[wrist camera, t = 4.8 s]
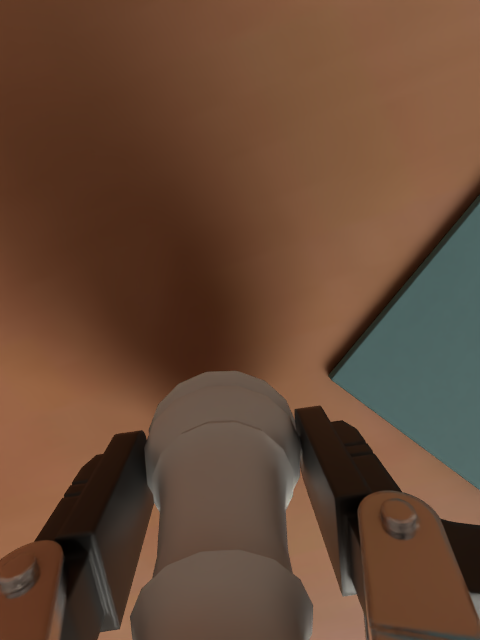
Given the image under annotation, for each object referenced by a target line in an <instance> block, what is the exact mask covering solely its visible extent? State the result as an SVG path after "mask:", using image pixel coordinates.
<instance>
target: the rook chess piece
mask: <svg viewBox="0 0 480 640" xmlns="http://www.w3.org/2000/svg"><path fill="white" fill-rule="evenodd" d="M300 451H301V442H300V439H299V436H298V434H297V432H296V425H295V420H294V417H293V415H292V413H291V410H290V408H289V406H288V404H287V401H286V399H284V398H283V397H282V396H281V395H280V394H279V393H278V392H277V391H276V390H274V389H273V388H272V387H271V386H270V385H269V384H268V383H267V382H266V381H264V380H261V379H258V378H256V377H253V376H250V375H247V374H244V373H241V372H239V371H217V372H205V373H202V374H200V375H198V376H195V377H193V378H191V379H188V380H186V381H184V382H181V383H179V384H178V385H177V386H176V387H175V388H174V389H173V390H172V391H171V392H170V393H169V394H168V395H167V396H166V397H165V398H164V399H163V400H162V401H161V402H160V403H159V404H158V406H157V409H156V412H155V414H154V417H153V420H152V423H151V425H150V428H149V436H148V439H147V442H146V444H145V447H144V452H145V464H146V475H147V485H148V486H149V488H150V490H151V492H152V493H153V498H154V503H155V505H156V507H157V508H158V510H159V512H160V519H159V534H158V550H157V559H156V564H155V569H154V573H153V578H152V579H151V580H150V581H149V582H148V583H147V584H146V585H145V586H144V587H143V588H142V589H141V591H140V594H139V596H138V598H137V601H136V603H135V606H134V608H133V611H132V613H131V616H130V621H131V630H132V639H133V640H309V639H310V637H311V634H312V621H313V604H312V602H311V600H310V598H309V596H308V594H307V592H306V590H305V588H304V586H303V584H302V582H301V580H300V579H299V578H298V577H296V576H295V575H294V574H293V572H292V568H291V563H290V558H289V553H288V545H287V528H286V508H287V506H288V504H289V502H290V500H291V498H292V496H293V490H294V487H295V485H296V483H297V481H298V479H299V476H300Z"/></svg>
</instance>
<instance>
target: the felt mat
mask: <svg viewBox="0 0 480 640" xmlns="http://www.w3.org/2000/svg"><path fill="white" fill-rule="evenodd" d="M329 378H330V379H331V380H332V381H334V382H335V383H336V384H338V385H339V386H340V387H342V388H343V389H344V390H346V391H347V392H348V393H350V394H351V395H352V396H354V397H355V398H357V399H358V400H359V401H361V402H362V403H363V404H365V405H366V406H367V407H369V408H370V409H371V410H373V411H374V412H375V413H377V414H378V415H379V416H381V417H382V418H383V419H385V420H386V421H387V422H389V423H390V424H391V425H393V426H394V427H396V428H397V429H398V430H400V431H401V432H402V433H404V434H405V435H406V436H408V437H409V438H410V439H412V440H413V441H414V442H416V443H417V444H418V445H420V446H421V447H422V448H424V449H425V450H426V451H428V452H429V453H431V454H432V455H433V456H435V457H436V458H437V459H439V460H440V461H441V462H443V463H444V464H445V465H447V466H448V467H449V468H451V469H452V470H453V471H455V472H456V473H457V474H459V475H460V476H461V477H463V478H464V479H466V480H467V481H468V482H470V483H471V484H472V485H474V486H475V487H476V488H478V489H479V490H480V195H479V196H478V197H477V198H476V199H475V201H474V202H473V203H472V204H471V205H470V207H469V208H468V209H467V210H466V211H465V213H464V214H463V215H462V216H461V217H460V219H459V220H458V221H457V222H456V223H455V225H454V226H453V227H452V228H451V229H450V231H449V232H448V233H447V234H446V235H445V237H444V238H443V239H442V240H441V241H440V242H439V244H438V245H437V246H436V247H435V248H434V250H433V251H432V252H431V253H430V254H429V256H428V257H427V258H426V259H425V260H424V262H423V263H422V264H421V265H420V266H419V268H418V269H417V270H416V271H415V272H414V274H413V275H412V276H411V277H410V278H409V280H408V281H407V282H406V283H405V284H404V286H403V287H402V288H401V289H400V290H399V292H398V293H397V294H396V295H395V296H394V297H393V299H392V300H391V301H390V302H389V303H388V305H387V306H386V307H385V308H384V309H383V311H382V312H381V313H380V314H379V315H378V317H377V318H376V319H375V320H374V321H373V323H372V324H371V325H370V326H369V327H368V329H367V330H366V331H365V332H364V333H363V335H362V336H361V337H360V338H359V339H358V341H357V342H356V343H355V344H354V345H353V347H352V348H351V349H350V350H349V351H348V352H347V354H346V355H345V356H344V357H343V358H342V360H341V361H340V362H339V363H338V364H337V366H336V367H335V368H334V369H333V370H332V372H331V373H330V374H329Z"/></svg>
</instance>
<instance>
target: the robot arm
mask: <svg viewBox="0 0 480 640" xmlns="http://www.w3.org/2000/svg"><path fill="white" fill-rule="evenodd" d="M295 425H296V432H297V434H298V436H299V439H300V442H301V451H300V468H301V472H302V476H303V480H304V483H305V486H306V489H307V492H308V495H309V498H310V501H311V504H312V507H313V510H314V513H315V516H316V519H317V522H318V525H319V528H320V531H321V534H322V537H323V540H324V542H325V545H326V548H327V551H328V554H329V557H330V560H331V563H332V566H333V569H334V572H335V575H336V578H337V581H338V584H339V587H340V590H341V593H342V596H349V595H356V594H357V596H358V599H359V601H360V604H361V606H362V609H363V612H364V625H365V637H366V640H480V525H472V524H464V523H456V522H451V521H447V520H443V519H440V518H439V516H438V515H437V513H436V512H435V511H434V510H433V509H432V508H431V507H430V506H429V505H428V504H426V503H425V502H424V501H422V500H420V499H419V498H417V497H414V496H412V495H410V494H407V493H403V492H402V491H401V490H400V488H399V487H398V486H397V484H396V483H395V481H394V480H393V479H392V477H391V476H390V474H389V473H388V472H387V470H386V469H385V468H384V466H383V465H382V463H381V462H380V461H379V459H378V458H377V456H376V455H375V454H373V451H372V449H371V448H370V447H369V445H368V444H367V443H366V442H365V440H364V438H363V437H362V436H361V434H360V433H359V431H358V430H357V429H356V428H354V427H352V426H351V425H349V424H348V423H346V422H344V421H343V420H342V421H335V422H330V420H329V419H328V417H327V415H326V414H325V412H324V410H323V409H322V407H321V406H314V407H307V408H299V409H295ZM146 442H147V440H146V436H145V433H144V432H143V431H142V430H141V431H134V432H127V433H120V434H115V435H114V437H113V438H112V440H111V442H110V444H109V445H108V447H107V449H106V450H105V452H104V454H100V455H96V456H95V457H94V458H92V459H91V460H90V461H89V462H88V463H87V464H86V465H84V466H83V467H82V468H81V469H80V471H79V473H78V474H77V476H76V477H75V479H74V480H73V482H72V485H70V487H69V488H68V490H67V491H66V493H65V494H64V498H62V499H61V501H60V502H59V504H58V505H57V507H56V508H55V510H54V512H53V513H52V515H51V516H50V518H49V519H48V521H47V522H46V524H45V526H44V527H43V529H42V530H41V532H40V533H39V535H38V536H37V538H36V540H35V541H34V542H33V543H29V544H27V545H24V546H22V547H20V548H18V549H16V550H14V551H12V552H11V553H9V554H8V555H6V556H5V557H3V558H2V559H1V560H0V640H97V639H98V636H99V633H100V632H104V631H111V630H117V629H120V626H121V622H122V618H123V615H124V611H125V607H126V604H127V600H128V596H129V593H130V589H131V585H132V582H133V578H134V574H135V571H136V567H137V563H138V560H139V556H140V552H141V549H142V545H143V541H144V538H145V534H146V530H147V527H148V523H149V519H150V516H151V512H152V508H153V505H154V498H153V493H152V492H151V490H150V488H149V486H148V485H147V475H146V464H145V452H144V447H145V444H146Z"/></svg>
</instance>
